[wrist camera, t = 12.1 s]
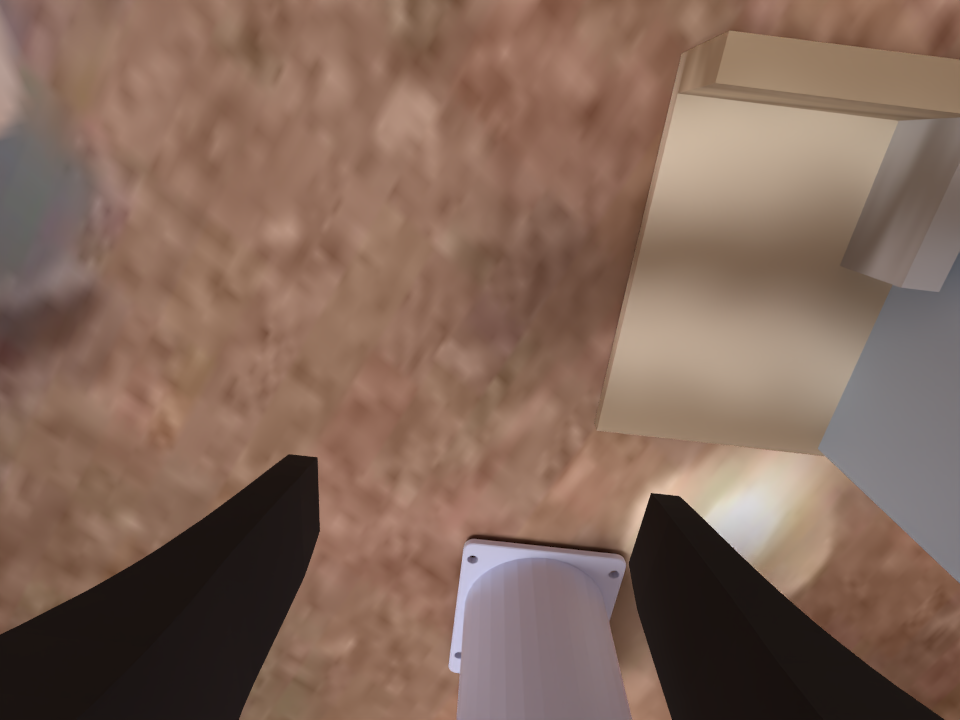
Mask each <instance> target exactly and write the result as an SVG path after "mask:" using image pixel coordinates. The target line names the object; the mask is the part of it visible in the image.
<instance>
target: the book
mask: <svg viewBox="0 0 960 720" xmlns="http://www.w3.org/2000/svg"><path fill="white" fill-rule="evenodd" d="M818 449H819V450H820V451H821V452H822V453H823V454H824V455H825V456H826V457H827V458H828V459H829V460H830V461H831V462H832V463H833V464H834V465H835V466H836V467H838V468H839V469H840V470H841V471H842V472H843V473H844V474H845V475H846V476H847V477H848V478H849V479H850V480H851V481H852V482H853V483H854V484H855V485H856V486H858V487H859V488H860V489H861V490H862V491H863V492H864V493H865V494H866V495H867V496H868V497H869V498H870V499H871V500H872V501H873V502H874V503H875V504H877V505H878V506H879V507H880V508H881V509H882V510H883V511H884V512H885V513H886V514H887V515H888V516H889V517H890V518H891V519H892V520H893V521H894V522H895V523H897V524H898V525H899V526H900V527H901V528H902V529H903V530H904V531H905V532H906V533H907V534H908V535H909V536H910V537H911V538H912V539H913V540H914V541H915V542H917V543H918V544H919V545H920V546H921V547H922V548H923V549H924V550H925V551H926V552H927V553H928V554H929V555H930V556H931V557H932V558H933V559H934V560H936V561H937V562H938V563H939V564H940V565H941V566H942V567H943V568H944V569H945V570H946V571H947V572H948V573H949V574H950V575H951V576H952V577H953V578H954V579H956V580H957V581H958V582H959V583H960V251H959V253H958V255H957V257H956V259H955V261H954V263H953V265H952V267H951V269H950V271H949V273H948V275H947V277H946V279H945V281H944V283H943V285H942V287H941V289H940V291H939V292H933V291H925V290H916V289H908V288H901V287H898V286H895V285H892V287H891V289H890V291H889V294H888V296H887V298H886V300H885V302H884V305H883V307H882V309H881V311H880V313H879V315H878V318H877V320H876V322H875V324H874V326H873V329H872V331H871V333H870V335H869V337H868V340H867V342H866V344H865V346H864V348H863V351H862V353H861V355H860V357H859V359H858V361H857V364H856V366H855V368H854V370H853V372H852V375H851V377H850V379H849V381H848V383H847V386H846V388H845V390H844V392H843V394H842V396H841V399H840V401H839V403H838V405H837V407H836V410H835V412H834V414H833V416H832V418H831V421H830V423H829V425H828V427H827V429H826V431H825V434H824V436H823V438H822V440H821V442H820V445H819V447H818Z"/></svg>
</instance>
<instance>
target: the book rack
mask: <svg viewBox="0 0 960 720" xmlns="http://www.w3.org/2000/svg"><path fill="white" fill-rule="evenodd" d="M959 251H960V60H959V59H951V58H943V57H935V56H927V55H919V54H912V53H904V52H896V51H888V50H880V49H872V48H864V47H856V46H848V45H840V44H832V43H824V42H817V41H809V40H801V39H793V38H785V37H777V36H769V35H761V34H753V33H745V32H737V31H727V32H725V33H723V34H721V35H719V36H717V37H715V38H713V39H711V40H709V41H707V42H705V43H702V44H700V45H698V46H696V47H694V48H692V49H690V50H688V51H686V52H684V53H682V54H681V58H680V63H679V67H678V71H677V75H676V80H675V84H674V88H673V92H672V97H671V101H670V105H669V109H668V113H667V118H666V122H665V126H664V130H663V135H662V139H661V143H660V147H659V152H658V156H657V160H656V164H655V169H654V173H653V177H652V181H651V185H650V190H649V194H648V198H647V202H646V207H645V211H644V215H643V219H642V224H641V228H640V232H639V236H638V241H637V245H636V249H635V253H634V257H633V262H632V266H631V270H630V274H629V279H628V283H627V287H626V291H625V296H624V300H623V304H622V308H621V313H620V317H619V321H618V325H617V329H616V334H615V338H614V342H613V346H612V351H611V355H610V359H609V363H608V368H607V372H606V376H605V380H604V385H603V389H602V393H601V397H600V401H599V406H598V410H597V414H596V418H595V423H594V424H595V427H596V430H597V431H605V432H614V433H623V434H632V435H641V436H650V437H658V438H667V439H676V440H685V441H694V442H703V443H712V444H721V445H730V446H739V447H748V448H757V449H766V450H775V451H784V452H793V453H802V454H810V455H819V456H825V455H824V454H823V453H822V452H821V451H820V450H819V449H818V447H819V445H820V442H821V440H822V438H823V436H824V434H825V431H826V429H827V427H828V425H829V423H830V421H831V418H832V416H833V414H834V412H835V410H836V407H837V405H838V403H839V401H840V399H841V396H842V394H843V392H844V390H845V388H846V386H847V383H848V381H849V379H850V377H851V375H852V372H853V370H854V368H855V366H856V364H857V361H858V359H859V357H860V355H861V353H862V351H863V348H864V346H865V344H866V342H867V340H868V337H869V335H870V333H871V331H872V329H873V326H874V324H875V322H876V320H877V318H878V315H879V313H880V311H881V309H882V307H883V305H884V302H885V300H886V298H887V296H888V294H889V291H890V289H891V287H892V285H895V286H898V287H901V288H908V289H916V290H925V291H933V292H939V291H940V289H941V287H942V285H943V283H944V281H945V279H946V277H947V275H948V273H949V271H950V269H951V267H952V265H953V263H954V261H955V259H956V257H957V255H958V253H959Z"/></svg>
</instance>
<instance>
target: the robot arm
mask: <svg viewBox="0 0 960 720" xmlns="http://www.w3.org/2000/svg"><path fill="white" fill-rule="evenodd" d="M319 532H320V523H319V491H318V460H317V457H309V456H299V455H290V454H289V455H287V456H286V457H285V458H283V459H282V460H281V461H279V462H278V463H277V464H275V465H274V466H273V467H271V468H270V469H269V470H267V471H266V472H265V473H264V474H262V475H261V476H260V477H258V478H257V479H256V480H254V481H253V482H252V483H251V484H249V485H248V486H247V487H245V488H244V489H243V490H241V491H240V492H239V493H237V494H236V495H235V496H233V497H232V498H231V499H229V500H228V501H227V502H225V503H224V504H223V505H221V506H220V507H218V508H217V509H216V510H214V511H213V512H212V513H210V514H209V515H208V516H206V517H205V518H203V519H202V520H201V521H199V522H198V523H196V524H195V525H193V526H192V527H190V528H189V529H187V530H186V531H184V532H183V533H181V534H180V535H178V536H177V537H175V538H174V539H172V540H171V541H169V542H168V543H167V544H165V545H164V546H162V547H161V548H159V549H157V550H156V551H154V552H153V553H151V554H149V555H148V556H146V557H145V558H143V559H141V560H140V561H138V562H136V563H135V564H133V565H131V566H130V567H128V568H126V569H125V570H123V571H121V572H119V573H118V574H116V575H114V576H112V577H111V578H109V579H107V580H105V581H104V582H102V583H100V584H98V585H97V586H95V587H93V588H91V589H89V590H88V591H86V592H84V593H82V594H80V595H78V596H76V597H74V598H72V599H70V600H68V601H66V602H64V603H62V604H60V605H58V606H56V607H54V608H53V609H51V610H49V611H47V612H45V613H43V614H41V615H39V616H37V617H35V618H33V619H31V620H29V621H27V622H25V623H23V624H21V625H19V626H17V627H15V628H13V629H11V630H9V631H7V632H5V633H3V634H0V720H239V717H240V715H241V712H242V709H243V707H244V705H245V703H246V700H247V698H248V696H249V693H250V691H251V689H252V686H253V684H254V682H255V680H256V678H257V676H258V673H259V671H260V669H261V667H262V665H263V663H264V661H265V659H266V657H267V655H268V652H269V650H270V648H271V646H272V644H273V642H274V640H275V638H276V636H277V634H278V632H279V629H280V627H281V625H282V623H283V621H284V619H285V617H286V615H287V613H288V611H289V608H290V606H291V604H292V602H293V600H294V598H295V596H296V594H297V591H298V589H299V587H300V585H301V583H302V581H303V578H304V576H305V573H306V571H307V568H308V565H309V562H310V559H311V556H312V553H313V550H314V547H315V544H316V541H317V538H318V535H319ZM470 556H476V557H473V558H472V557H470ZM629 567H630V573H631V579H632V584H633V590H634V595H635V600H636V605H637V610H638V613H639V617H640V620H641V623H642V626H643V630H644V633H645V636H646V639H647V643H648V646H649V649H650V652H651V655H652V658H653V661H654V665H655V668H656V671H657V674H658V677H659V680H660V683H661V686H662V690H663V693H664V696H665V699H666V702H667V705H668V708H669V711H670V714H671V718H672V720H944V719H943V718H941V717H940V716H939V715H937V714H936V713H934V712H933V711H931V710H930V709H929V708H927V707H926V706H924V705H923V704H921V703H920V702H919V701H917V700H916V699H914V698H913V697H911V696H910V695H909V694H907V693H906V692H904V691H903V690H901V689H900V688H899V687H897V686H896V685H894V684H893V683H892V682H890V681H889V680H888V679H886V678H885V677H884V676H882V675H881V674H879V673H878V672H877V671H875V670H874V669H873V668H871V667H870V666H869V665H868V664H866V663H865V662H864V661H862V660H861V659H860V658H859V657H857V656H856V655H855V654H853V653H852V652H851V651H850V650H848V649H847V648H846V647H845V646H843V645H842V644H841V643H839V642H838V641H837V640H836V639H834V638H833V637H832V636H831V635H829V634H828V633H827V632H826V631H824V630H823V629H822V628H821V627H820V626H818V625H817V624H816V623H815V622H814V621H812V620H811V619H810V618H809V617H808V616H807V615H805V614H804V613H803V612H802V611H801V610H800V609H799V608H797V607H796V606H795V605H794V604H793V603H792V602H791V601H789V600H788V599H787V598H786V597H785V596H784V595H783V594H781V593H780V592H779V591H778V590H777V589H776V588H775V587H774V586H773V585H772V584H770V583H769V582H768V581H767V580H766V579H765V578H764V577H763V576H762V575H761V574H760V573H759V572H757V571H756V570H755V569H754V568H753V567H752V566H751V565H750V564H749V563H748V562H747V561H746V560H745V559H744V558H743V557H742V556H741V555H740V554H739V553H738V552H737V551H735V550H734V549H733V548H732V547H731V546H730V545H729V544H728V543H727V542H726V541H725V540H724V539H723V538H722V537H721V536H720V535H719V534H718V533H717V532H716V531H715V530H714V529H713V528H712V527H711V526H710V525H709V524H708V523H707V522H706V521H705V520H704V519H703V518H702V517H701V516H700V515H699V514H698V513H697V512H696V511H695V510H694V509H693V508H692V507H690V506H689V505H688V504H687V503H686V502H685V501H684V500H683V499H682V498H681V497H679V496H673V495H664V494H654V493H651V495H650V498H649V501H648V505H647V508H646V511H645V514H644V517H643V520H642V523H641V527H640V530H639V533H638V536H637V539H636V542H635V545H634V548H633V552H632V555H631V558H630V561H629ZM625 569H626V563H625V560H624V558H623V557H622V556H621V555H618V554H611V553H602V552H593V551H584V550H574V549H565V548H556V547H546V546H537V545H528V544H519V543H509V542H500V541H491V540H481V539H470V540H467V541H466V542H465V544H464V548H463V556H462V564H461V572H460V580H459V587H458V595H457V603H456V611H455V619H454V626H453V634H452V642H451V650H450V658H449V669H450V670H451V671H453V672H455V673H460V679H459V693H458V708H457V720H632V717H631V713H630V709H629V704H628V700H627V696H626V692H625V687H624V683H623V679H622V675H621V670H620V666H619V662H618V658H617V654H616V649H615V645H614V641H613V637H612V632H611V628H610V624H609V621H610V618H611V615H612V611H613V608H614V605H615V602H616V598H617V595H618V592H619V589H620V585H621V582H622V579H623V576H624V572H625ZM611 571H615V572H611Z"/></svg>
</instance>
